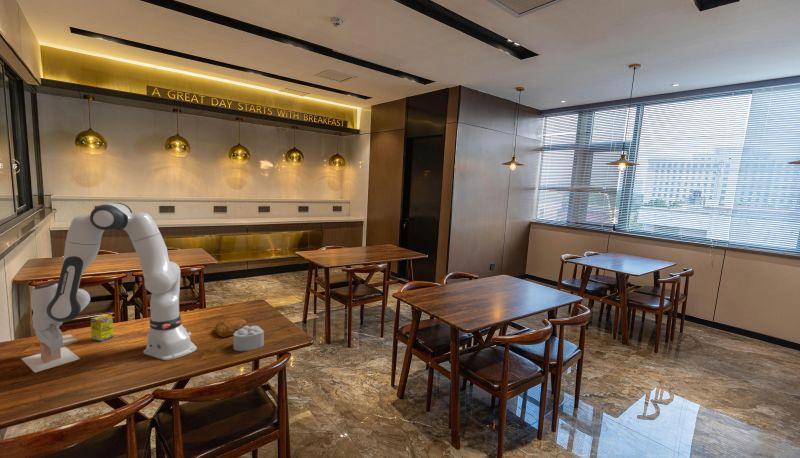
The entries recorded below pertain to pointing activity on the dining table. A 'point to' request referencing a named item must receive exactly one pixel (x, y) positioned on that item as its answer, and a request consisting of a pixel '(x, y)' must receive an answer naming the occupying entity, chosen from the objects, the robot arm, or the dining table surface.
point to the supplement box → (102, 328)
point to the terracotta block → (48, 353)
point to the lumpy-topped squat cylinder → (248, 338)
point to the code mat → (39, 364)
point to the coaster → (68, 339)
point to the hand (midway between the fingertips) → (50, 353)
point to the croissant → (229, 326)
